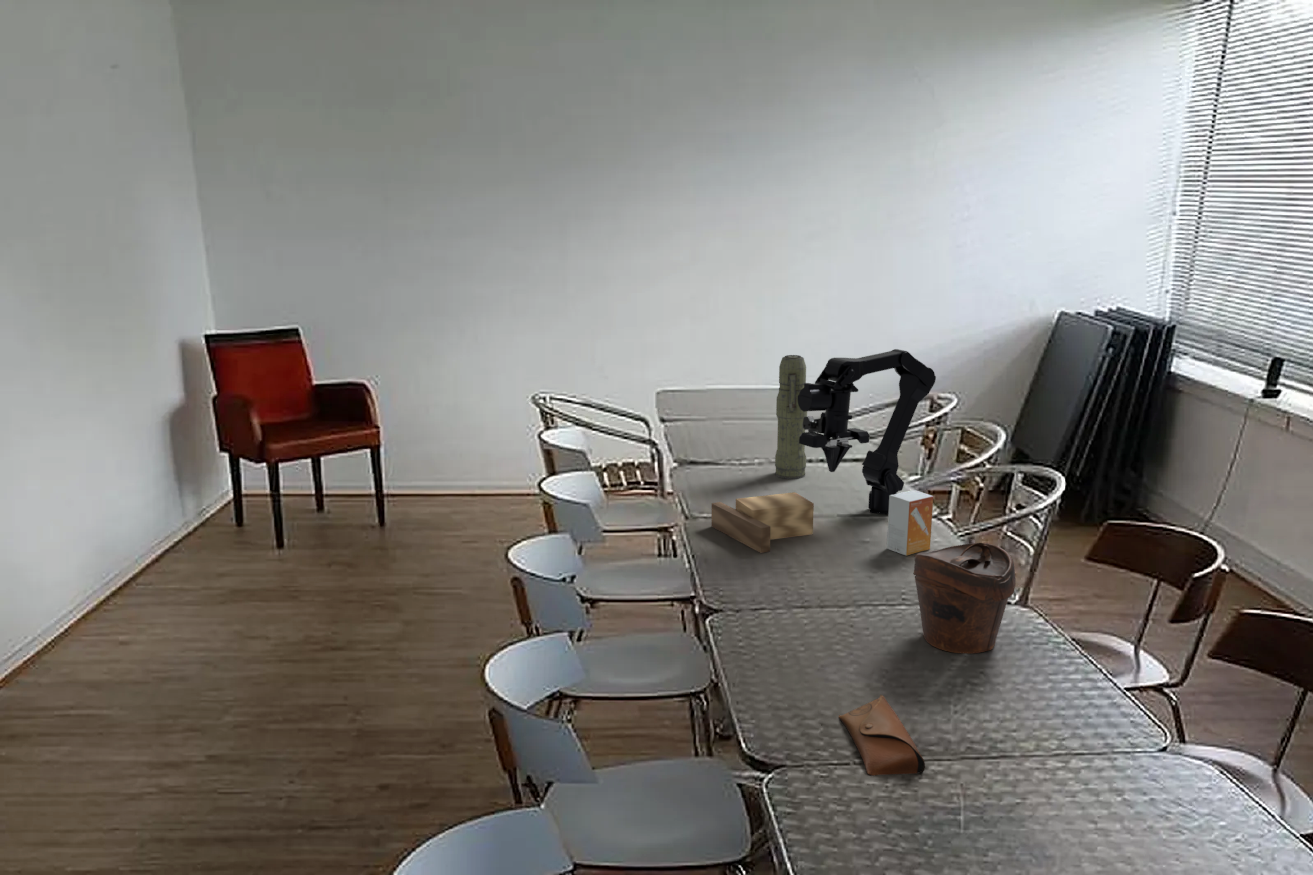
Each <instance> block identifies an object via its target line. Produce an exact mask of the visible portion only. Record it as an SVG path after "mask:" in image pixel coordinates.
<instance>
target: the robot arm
mask: <svg viewBox="0 0 1313 875" xmlns="http://www.w3.org/2000/svg"><path fill="white" fill-rule="evenodd" d="M891 369H894V372H895V373H896V374H898V376H899V377H900V378H899V381H898V389H899V397H898V399H897V403H896V405H895V407H894V409H893V411H892V414H891V416H890V419H889V421H888V424H887V427H886V429H885V430H884V434H883V436H882V437H881V438H882V439H881V441H880V443H879V446H878V447H877V448H876V449H875V450H874V451H873V450H870V449H869V450H868V451H867V452H866V454H865V459H864V461H862V463H861V466H862V469H861V473H862V475H863V477H864V480H865V483H866V485H867V486H871V490H870V491H869V492H868V509H869V513H870V514H878V515H879V514H882V515H888V513H889V496H890V495H894V494H898V493H899V492H902V491H903V488H904V486H905V485H904V484H905V482H904V480H903V479H902V478H901V477H900V476H899V475H898V474H897V473H898V470H899V458H898V457H899V456H898V452H899V451H900V448H901V445H902V444H903V441H904V439H905V436H906V434H907V432H908V430H909V427H910V424H911V421H912V420H913V417H914V414H915V411H916V409H917V407H918V405H919V403H920V402H921V401H922V400H924V398H925V397H927V396H928V395H929V394H930V392H931V390H932V388H933V387H934V385H935V383H936V378H937V376H936V374H935V371H934V370H933V368H930V367H928V366H926V364H924V363H923V362H921V361H920V360H918V359H917V358H915V356H913V355H912V354H911V353H910V352H909V351H907V350H903V349H898V348H895V349H892V350H889V351H885V352H884V351H883V352H879V353H876V354H871V355H865V356H861V357H831V358H829V359H828V360H827V363H826V364H825V367H824V368H823V369H822V372H821V373H819V375H818V377H817V378H816V380H815V381H814V383H809V382H806V383H805V384H804V388H803V389H802V390H801V391H800V393H799V395H798V405H799V407H800V409H801V410H802V411H804V412H805V411H807V412H821V413H820V417H819V418H814V416H811V415H809V416H808V415H807V417H804V419H803V428H804V430H805V432H804V433H802V434H801V435H800V437H799V444H802V445H805V446H806V447H809V448H814V449H819V448H821V450H822V452H823V454H824V457H825V460H826V461H825V462H826V464H827V468H828V471H829V472H830V473H835V472H836V470H837V468H838V466H840V464H841V462H842V460H843V459H844V457H845V455H847V453H848V451H849V450H850V449H852V448H853V445H852V444H850V443H849V441H854V440H857V441H858V443H859V444H861V445H862V444H870V434H869V432H868V430H864V429H860V428H857V427H853V428H848V426H849V420H850V421H851V420H853V415H851V414H850V403H851V395H852V394H851V393H858V392H859V389H858V387H857V386H856V385H855V384H854V383H855V382H857V381H859V380H860V379H862V378H863V377H864V376H866V375H869V374H874V373H878V372H882V371H887V370H891ZM806 430H807V431H806Z"/></svg>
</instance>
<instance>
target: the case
mask: <svg viewBox="0 0 1313 875" xmlns="http://www.w3.org/2000/svg"><path fill="white" fill-rule="evenodd" d="M913 576H914V581H915V587H916V592H917V594H916V595H917V598H918V599H917V600H918V607H919V612H920V619H921V620H920V622H921V627H922V634H923V638H924V640H925V641H926V642H927V643H928V644H929V645H930V646H933V647H934V648H936V649H939V650H941V651H945V652H950V653H954V654H965V655H966V654H969V655H971V654H978V653H979V654H980V653H983V652H989V651H991V650H992V649H994V646H996V641H997V638H998V633H999V630H1000V628H1001V625H1002V620H1003V617H1004V614H1005V611H1006V607H1007V604H1008V600H1009V598H1011V597H1012V595H1013V594H1014V593H1015V589H1016V583H1017V581H1016V572H1015V562H1014V560H1013V558H1012V556H1011V555H1010V553H1009V552H1008V551H1006V550H1005V549H1003V548H1002V547H1000V546H998V545H996V544H991V543H988V542H975V543H974V542H973V543H972V542H971V543H964V544H958V545H952V546H948V547H944V548H940V549H934V550H931V551H926V552H925V551H921V552H917V553H915V555H914V567H913Z"/></svg>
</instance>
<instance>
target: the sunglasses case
mask: <svg viewBox="0 0 1313 875" xmlns="http://www.w3.org/2000/svg"><path fill="white" fill-rule="evenodd" d="M838 719H839V721H840V722H841V723H842V724H843V725H844V727H845V728H846V729H847V731H848V733H849V735H850V738H851V739H852V741H853V742H854V745H855V747H856V748H857V751H858V753H859V755H860V757H861V759H862V760H863V761H862V762H863V764H864V768H865V772H866V774H867V775H869V776H873V777H874V776H879V775H882V776H883V775H885V776H886V775H907V774H908V775H909V774H920V775H922V774H923V773H924V771H925V769H926V762H925V760H924V758H923V756H922V754H921V753H920V751H919V749H918V746H916V743H915V742H914V740H913V739H912V737H911V736H910V734H909V732H908V730H907V728H906V727H905V726H904V724H903V723H902V721H901V719H900V717H898V715H897V713H896V712H895V710H894V709H893V707H892V706H891V705H890V703H889V702H888V701H887V699H886V697H885V696H884V695H883V694H879V697H878V698H876V699H874V700H871V701H869V702H868V703H865V704H863V705H861V706H859V707H857V708H854V709H852V710H850V711H848V712H846V713H844V714H841V715H839V714H838Z"/></svg>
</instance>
